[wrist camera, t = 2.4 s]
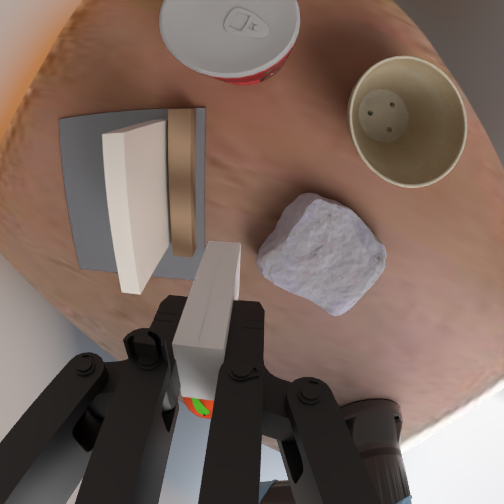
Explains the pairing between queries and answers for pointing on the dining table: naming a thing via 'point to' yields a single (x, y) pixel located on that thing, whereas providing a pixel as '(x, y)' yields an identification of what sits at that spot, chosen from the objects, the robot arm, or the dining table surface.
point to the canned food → (231, 36)
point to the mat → (95, 198)
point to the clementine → (200, 406)
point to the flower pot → (407, 121)
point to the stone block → (322, 253)
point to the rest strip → (182, 180)
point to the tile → (138, 199)
